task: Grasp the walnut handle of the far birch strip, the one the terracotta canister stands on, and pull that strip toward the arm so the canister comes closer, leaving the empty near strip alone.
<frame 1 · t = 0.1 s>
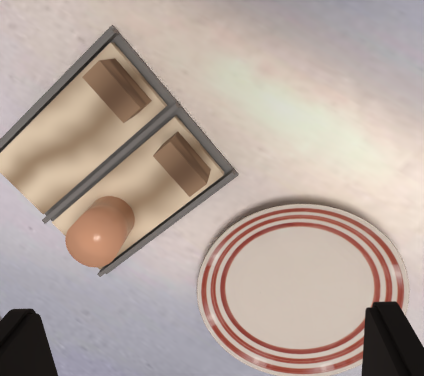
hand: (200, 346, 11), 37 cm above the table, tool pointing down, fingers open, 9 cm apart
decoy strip: (66, 140, 44), point 4 cm above the table, slide at 0.0 cm
canister: (112, 217, 50), point 2 cm above the table, touching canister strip
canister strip: (129, 205, 47), point 4 cm above the table, slide at 0.0 cm, touching canister
dinner plate: (296, 285, 54), on the table
lane frame: (109, 164, 49), on the table
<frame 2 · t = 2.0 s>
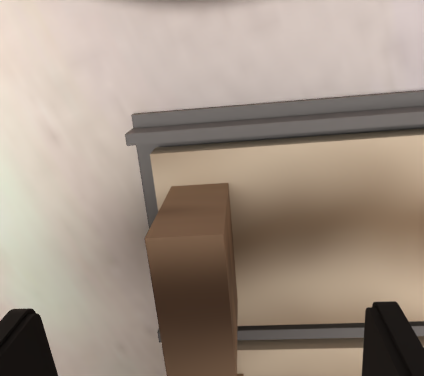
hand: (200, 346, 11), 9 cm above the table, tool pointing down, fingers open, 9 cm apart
lane frame: (386, 308, 20), on the table
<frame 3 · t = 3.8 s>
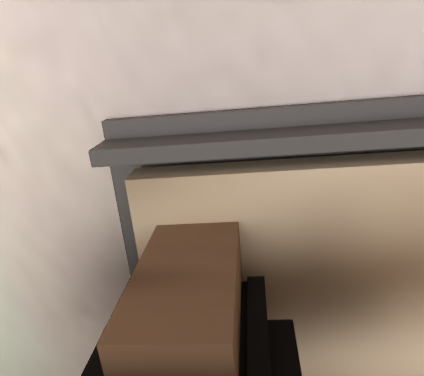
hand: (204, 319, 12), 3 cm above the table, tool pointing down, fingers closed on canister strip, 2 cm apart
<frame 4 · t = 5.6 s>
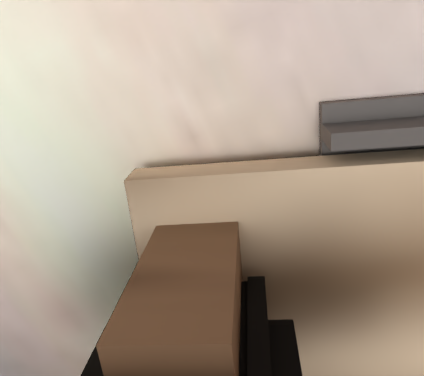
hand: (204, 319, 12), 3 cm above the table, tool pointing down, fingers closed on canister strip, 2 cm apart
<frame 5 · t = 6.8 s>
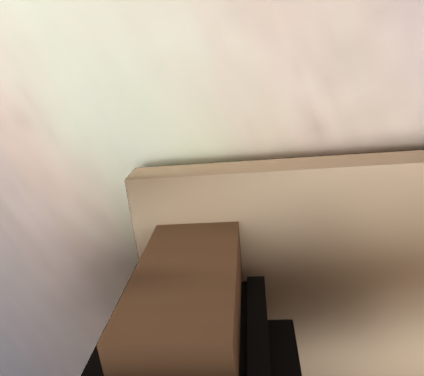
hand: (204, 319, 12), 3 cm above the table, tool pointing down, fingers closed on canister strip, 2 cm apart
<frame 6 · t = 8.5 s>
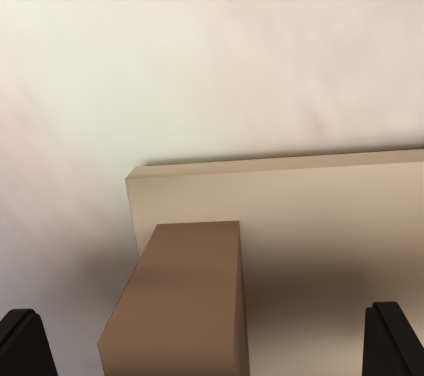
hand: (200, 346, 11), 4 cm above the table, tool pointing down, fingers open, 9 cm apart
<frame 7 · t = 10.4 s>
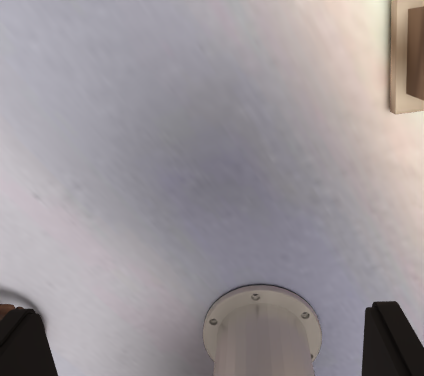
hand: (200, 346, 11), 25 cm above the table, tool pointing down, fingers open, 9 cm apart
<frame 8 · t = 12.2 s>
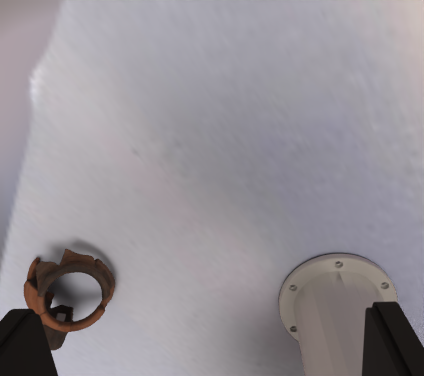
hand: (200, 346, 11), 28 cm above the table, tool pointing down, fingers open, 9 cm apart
brown curved loop: (75, 280, 46), on the table
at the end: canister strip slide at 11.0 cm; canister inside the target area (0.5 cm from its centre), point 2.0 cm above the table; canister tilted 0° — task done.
